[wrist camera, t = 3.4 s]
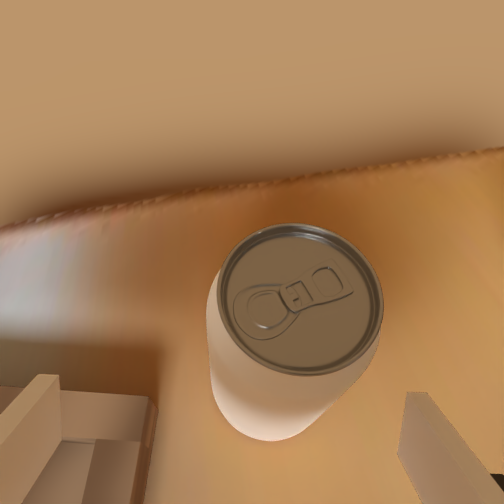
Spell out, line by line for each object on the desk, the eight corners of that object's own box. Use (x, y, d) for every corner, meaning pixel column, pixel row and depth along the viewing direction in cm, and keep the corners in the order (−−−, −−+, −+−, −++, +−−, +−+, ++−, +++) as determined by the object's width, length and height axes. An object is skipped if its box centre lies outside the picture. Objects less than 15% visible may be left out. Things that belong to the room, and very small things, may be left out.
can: (194, 355, 25) (173, 249, 15) (290, 311, 27) (331, 190, 16) (242, 465, 22) (257, 430, 12) (345, 409, 24) (437, 335, 14)
